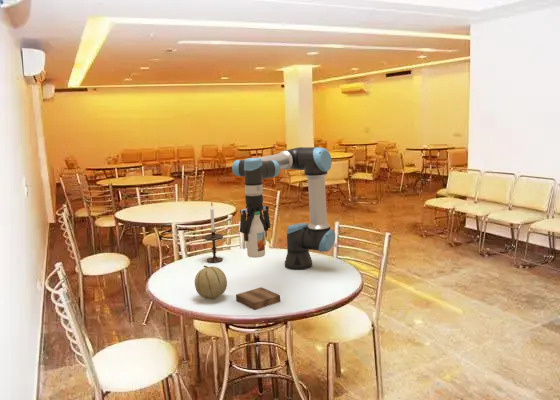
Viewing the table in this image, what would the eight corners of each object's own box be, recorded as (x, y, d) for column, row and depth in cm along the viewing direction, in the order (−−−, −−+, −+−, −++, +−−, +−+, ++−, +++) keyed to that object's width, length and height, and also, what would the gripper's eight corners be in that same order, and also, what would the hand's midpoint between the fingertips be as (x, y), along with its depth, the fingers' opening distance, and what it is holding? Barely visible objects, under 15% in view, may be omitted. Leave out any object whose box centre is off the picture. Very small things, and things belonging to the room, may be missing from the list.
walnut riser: (261, 293, 228) (261, 287, 228) (280, 301, 217) (280, 295, 217) (236, 301, 220) (235, 294, 219) (254, 310, 209) (254, 303, 208)
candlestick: (208, 257, 289) (204, 199, 283) (226, 258, 287) (223, 198, 281) (202, 263, 278) (199, 202, 272) (221, 263, 277) (218, 202, 271)
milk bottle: (251, 259, 210) (250, 213, 207) (244, 254, 217) (242, 210, 213) (268, 256, 213) (266, 210, 210) (260, 252, 220) (258, 208, 217)
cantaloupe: (222, 304, 216) (220, 271, 213) (190, 303, 219) (188, 270, 216) (231, 292, 230) (230, 261, 228) (201, 291, 233) (199, 261, 230)
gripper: (239, 198, 202) (241, 252, 205) (278, 192, 214) (279, 243, 218) (229, 196, 207) (231, 249, 211) (267, 190, 220) (269, 240, 224)
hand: (255, 246), depth 214 cm, fingers closed on milk bottle, 7 cm apart
